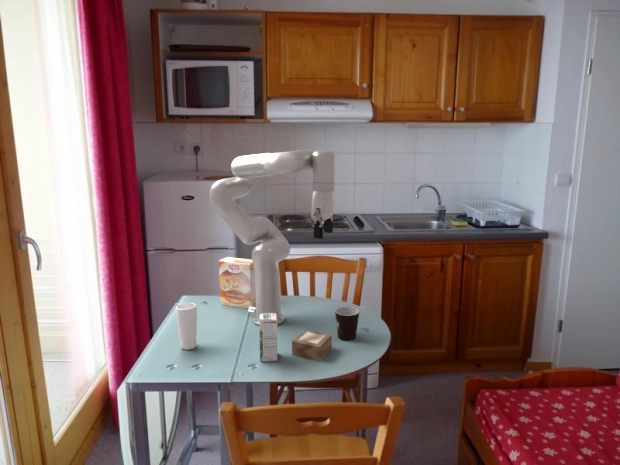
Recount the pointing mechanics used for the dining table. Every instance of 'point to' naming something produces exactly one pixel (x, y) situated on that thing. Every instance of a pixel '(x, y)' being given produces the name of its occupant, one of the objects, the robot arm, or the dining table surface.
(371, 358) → the dining table surface
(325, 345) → the pedestal
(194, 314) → the drinking glass
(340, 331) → the coffee mug
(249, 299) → the coffeecake box
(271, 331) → the syrup box
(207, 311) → the dining table surface
